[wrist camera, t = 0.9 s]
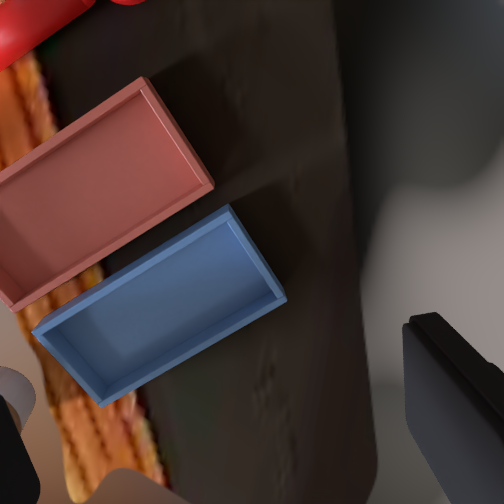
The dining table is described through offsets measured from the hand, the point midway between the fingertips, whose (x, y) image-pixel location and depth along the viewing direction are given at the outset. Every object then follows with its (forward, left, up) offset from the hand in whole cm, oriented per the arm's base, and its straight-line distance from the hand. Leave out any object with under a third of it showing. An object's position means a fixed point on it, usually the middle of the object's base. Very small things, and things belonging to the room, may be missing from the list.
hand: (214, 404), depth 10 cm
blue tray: (+5, -9, -25) cm, 27 cm away
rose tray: (-5, -9, -25) cm, 27 cm away
